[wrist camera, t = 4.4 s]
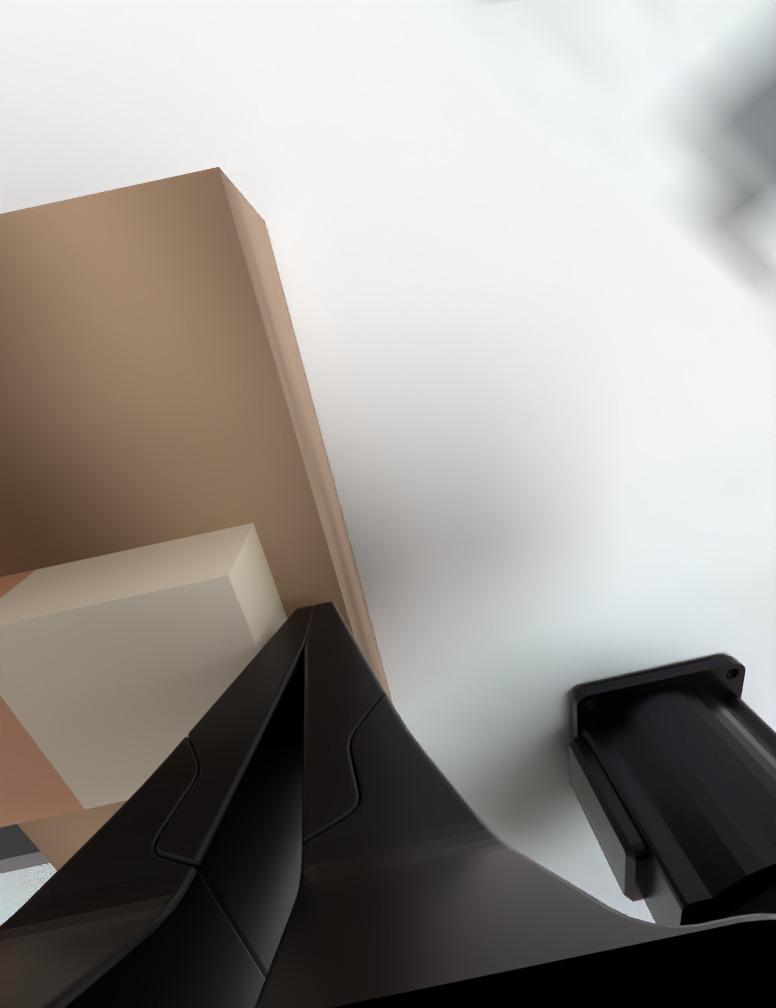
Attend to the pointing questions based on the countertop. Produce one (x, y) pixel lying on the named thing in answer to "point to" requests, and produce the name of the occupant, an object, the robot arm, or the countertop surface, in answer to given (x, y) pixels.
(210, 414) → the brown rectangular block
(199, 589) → the cream block
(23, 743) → the terracotta tile
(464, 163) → the countertop surface
